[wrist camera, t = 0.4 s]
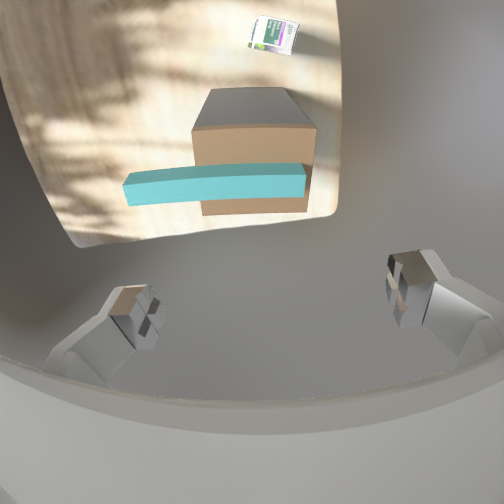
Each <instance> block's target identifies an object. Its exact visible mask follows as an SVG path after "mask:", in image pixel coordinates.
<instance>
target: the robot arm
mask: <svg viewBox="0 0 504 504" xmlns="http://www.w3.org/2000/svg"><path fill="white" fill-rule="evenodd" d="M387 265H388V267H389V270H390V272H389V273H388V275H387V276H386V293H387V297H388V301H389V303H390V304H391V305H392V306H394V313H393V314H394V317H395V320H396V323H397V325H398V328H399V329H403V328H408V327H414V326H418V325H422V326H423V327H424V328H425V329H426V330H427V331H428V332H429V333H430V334H432V335H433V336H434V337H435V338H436V339H437V340H438V341H439V342H440V343H442V344H443V345H444V346H445V347H446V348H447V349H448V350H449V351H450V352H451V353H452V354H453V355H454V356H456V357H457V359H456V361H455V363H454V364H453V366H452V368H451V369H450V370H447V371H443V372H440V373H437V374H434V375H430V376H427V377H423V378H420V379H416V380H412V381H408V382H404V383H400V384H395V385H391V386H386V387H381V388H376V389H371V390H365V391H360V392H353V393H348V394H340V395H333V396H325V397H315V398H305V399H293V400H274V401H210V400H193V399H180V398H169V397H161V396H153V395H145V394H138V393H132V392H126V391H121V390H115V389H112V388H111V387H110V386H108V385H107V384H106V382H107V381H108V380H109V379H110V377H111V376H112V375H113V374H114V373H115V372H116V371H117V370H118V369H119V367H120V366H121V365H122V364H123V363H124V362H125V361H126V360H127V359H128V358H129V356H131V354H132V353H133V352H134V351H135V349H154V347H155V344H156V342H157V339H158V337H159V334H158V332H157V331H158V330H159V329H160V328H161V327H162V326H163V324H164V320H165V311H164V307H163V305H162V303H161V302H160V301H159V300H158V299H156V298H155V291H154V289H153V288H152V286H150V285H134V286H121V287H116V288H114V290H113V291H112V293H111V294H110V296H109V297H108V299H107V301H106V302H105V304H104V305H103V307H102V309H101V310H100V312H99V314H98V315H97V316H94V317H92V318H91V319H90V320H88V321H87V322H86V323H85V324H83V325H82V326H81V327H80V328H78V329H77V330H76V331H74V332H73V333H72V334H71V335H69V336H68V337H67V338H65V339H64V340H63V341H62V342H61V343H59V344H58V345H57V346H55V347H54V349H53V350H52V352H51V354H50V356H49V357H48V360H47V361H46V363H45V365H44V367H43V368H42V370H38V369H35V368H32V367H29V366H26V365H23V364H21V363H18V362H16V361H13V360H10V359H8V358H6V357H3V356H1V355H0V504H504V305H503V304H501V303H500V302H498V301H497V300H495V299H493V298H492V297H490V296H488V295H486V294H485V293H483V292H481V291H480V290H478V289H476V288H475V287H473V286H471V285H469V284H468V283H466V282H464V281H462V280H460V279H459V278H457V277H455V278H452V276H451V275H450V273H449V272H448V270H447V269H446V268H445V266H444V264H443V263H442V261H441V260H440V259H439V257H438V256H437V254H436V253H435V252H434V250H433V249H432V248H424V249H419V250H416V251H410V252H404V253H397V254H391V255H389V258H388V264H387Z"/></svg>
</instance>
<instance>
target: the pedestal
mask: <svg viewBox="0 0 504 504" xmlns="http://www.w3.org/2000/svg"><path fill="white" fill-rule="evenodd" d="M316 132H317V129H316V127H315V126H314V125H313V123H312V122H311V121H310V120H309V118H308V117H307V116H306V114H305V113H304V112H303V111H302V110H301V108H300V107H299V106H298V105H297V103H296V102H295V101H294V100H293V99H292V97H291V96H290V95H289V94H288V93H287V92H286V90H285V89H284V88H280V87H244V88H222V89H211V91H210V93H209V95H208V97H207V99H206V101H205V103H204V105H203V107H202V109H201V112H200V114H199V116H198V118H197V120H196V122H195V124H194V127H193V129H192V131H191V133H192V142H193V150H194V158H195V165H196V166H205V165H221V164H244V163H301V164H302V166H303V169H304V171H305V173H306V182H305V190H304V197H278V198H243V199H220V200H202V201H201V208H202V215H203V216H209V215H230V214H256V213H294V212H307V206H308V199H309V192H310V184H311V176H312V168H313V159H314V151H315V141H316Z"/></svg>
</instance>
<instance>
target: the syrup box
mask: <svg viewBox="0 0 504 504" xmlns="http://www.w3.org/2000/svg"><path fill="white" fill-rule="evenodd" d="M299 25H300V24H299V23H296V22H292V21H287V20H283V19H278V18H273V17H268V16H260V17H259V18H258V19H256V20H255V21H254V22H253V26H252V29H251V33H250V38H249V43H248V47H250V48H253V49H258V50H264V51H269V52H275V53H280V54H285V55H289V56H291V54H292V50H293V47H294V44H295V40H296V37H297V33H298V29H299Z"/></svg>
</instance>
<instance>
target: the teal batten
mask: <svg viewBox="0 0 504 504" xmlns="http://www.w3.org/2000/svg"><path fill="white" fill-rule="evenodd" d="M305 182H306V173H305V171H304V169H303V166H302V164H301V163H244V164H221V165H205V166H192V167H180V168H170V169H160V170H151V171H143V172H135V173H130V174H129V176H128V177H127V179H126V181H125V182H124V184H123V189H124V193H125V196H126V199H127V202H128V205H129V206H138V205H148V204H160V203H173V202H186V201H202V200H220V199H243V198H278V197H304V190H305Z"/></svg>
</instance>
